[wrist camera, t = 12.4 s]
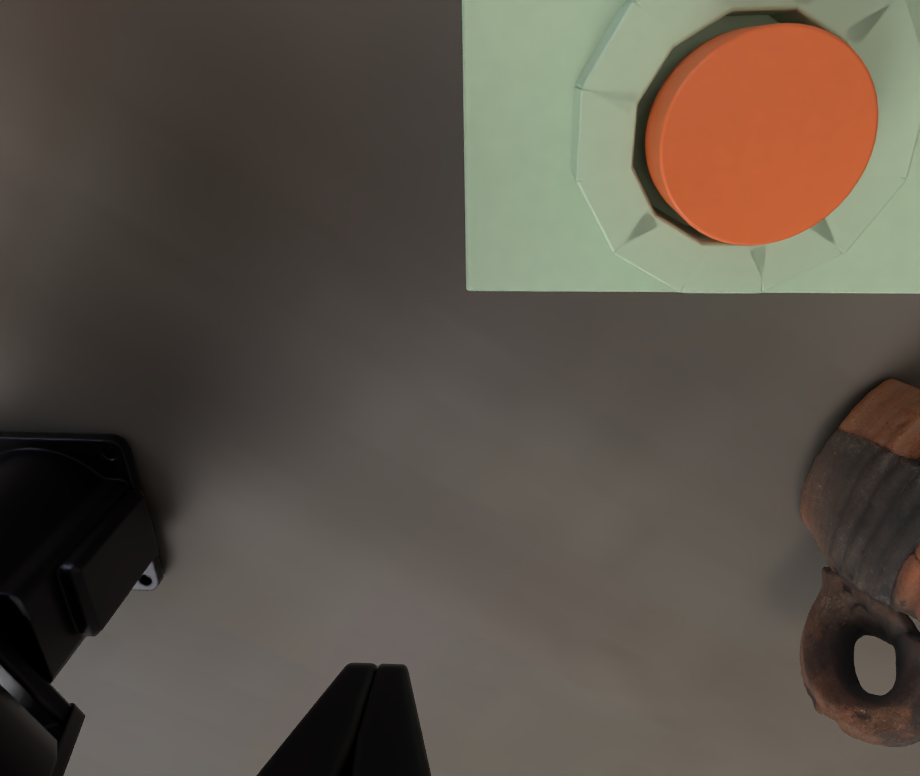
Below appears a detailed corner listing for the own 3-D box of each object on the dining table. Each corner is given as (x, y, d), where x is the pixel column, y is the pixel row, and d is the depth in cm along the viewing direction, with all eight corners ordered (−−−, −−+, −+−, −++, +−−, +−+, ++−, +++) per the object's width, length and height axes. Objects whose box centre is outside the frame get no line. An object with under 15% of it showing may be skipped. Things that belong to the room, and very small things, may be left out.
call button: (636, 227, 16) (648, 246, 14) (654, 28, 14) (671, 24, 12) (818, 227, 15) (852, 246, 14) (860, 23, 14) (905, 19, 12)
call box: (471, 268, 20) (460, 314, 16) (467, -56, 17) (453, -87, 13) (902, 269, 19) (990, 319, 15) (994, -73, 16) (1136, -113, 12)
